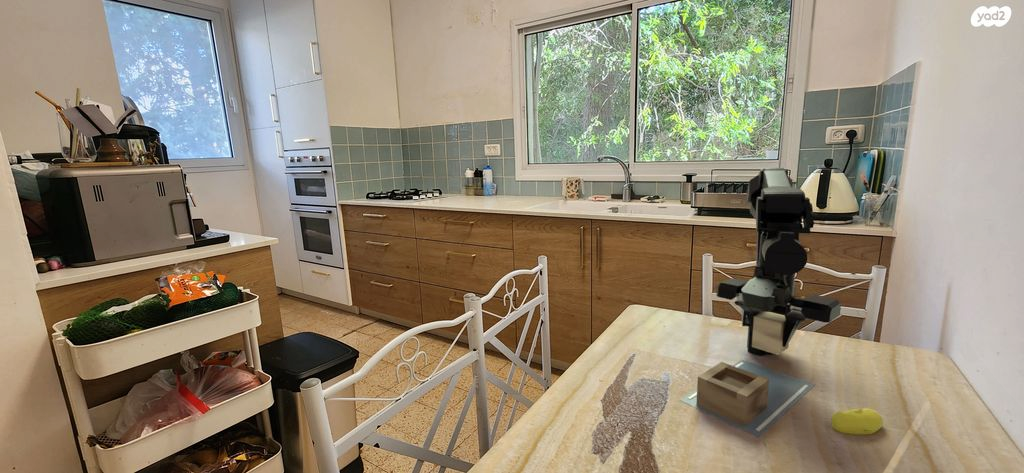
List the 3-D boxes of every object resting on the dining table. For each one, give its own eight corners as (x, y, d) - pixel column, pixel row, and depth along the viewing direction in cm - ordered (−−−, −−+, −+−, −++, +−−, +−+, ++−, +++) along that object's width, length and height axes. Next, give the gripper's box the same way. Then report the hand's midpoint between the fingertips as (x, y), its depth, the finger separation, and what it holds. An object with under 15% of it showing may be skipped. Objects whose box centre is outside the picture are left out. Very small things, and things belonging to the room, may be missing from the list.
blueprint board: (741, 362, 88) (742, 358, 88) (814, 388, 78) (815, 383, 78) (679, 404, 75) (679, 399, 74) (758, 441, 64) (758, 436, 64)
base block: (719, 388, 78) (721, 361, 77) (766, 407, 72) (769, 379, 71) (696, 404, 73) (697, 376, 72) (744, 426, 67) (746, 396, 66)
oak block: (762, 340, 82) (764, 310, 81) (788, 347, 79) (791, 317, 78) (751, 346, 80) (753, 316, 79) (778, 355, 76) (780, 323, 75)
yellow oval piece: (821, 426, 68) (823, 403, 67) (868, 422, 68) (871, 400, 68) (843, 443, 64) (846, 419, 63) (893, 438, 64) (896, 415, 64)
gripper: (703, 259, 79) (699, 338, 82) (822, 280, 64) (812, 375, 67) (732, 250, 85) (728, 323, 88) (846, 267, 71) (836, 354, 74)
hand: (770, 341), depth 79 cm, fingers closed on oak block, 4 cm apart
